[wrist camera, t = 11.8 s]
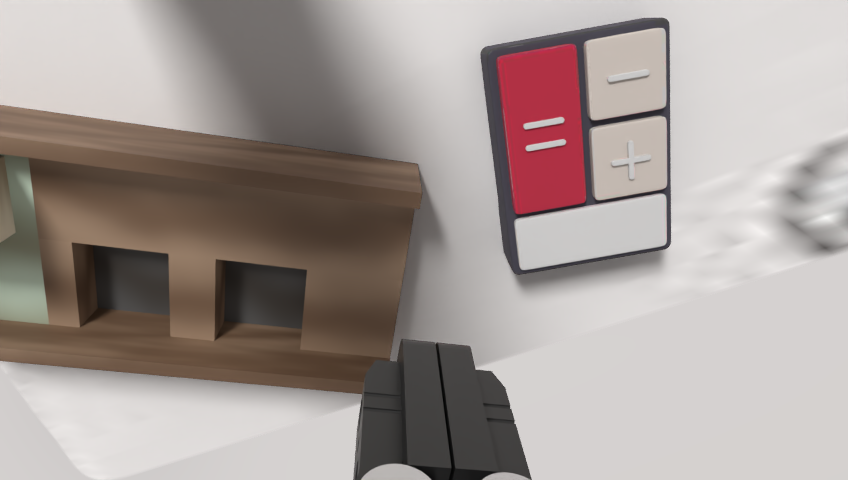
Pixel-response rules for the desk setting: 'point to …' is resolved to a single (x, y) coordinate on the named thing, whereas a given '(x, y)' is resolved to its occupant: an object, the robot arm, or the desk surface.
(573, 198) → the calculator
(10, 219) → the birch block
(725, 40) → the desk surface
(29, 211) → the trap track
